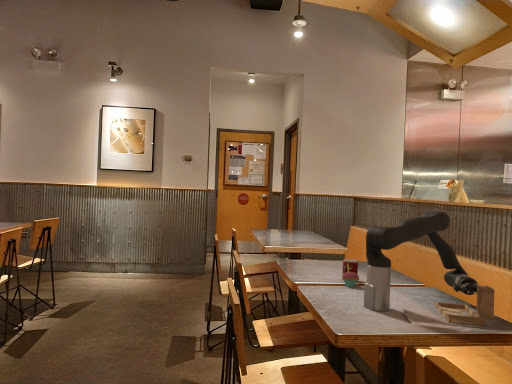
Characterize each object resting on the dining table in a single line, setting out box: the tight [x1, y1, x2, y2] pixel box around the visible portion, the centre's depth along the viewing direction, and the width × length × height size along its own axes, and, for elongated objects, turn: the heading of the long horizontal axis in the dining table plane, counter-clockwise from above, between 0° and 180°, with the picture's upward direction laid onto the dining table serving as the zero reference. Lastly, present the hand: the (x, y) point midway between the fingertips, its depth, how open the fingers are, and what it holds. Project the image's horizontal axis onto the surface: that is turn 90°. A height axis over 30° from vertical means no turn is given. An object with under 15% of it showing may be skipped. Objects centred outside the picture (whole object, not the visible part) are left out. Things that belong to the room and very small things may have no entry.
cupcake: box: [341, 263, 360, 288], centre depth 196 cm, size 9×8×12 cm
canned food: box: [342, 258, 359, 281], centre depth 210 cm, size 8×8×11 cm
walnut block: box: [475, 285, 495, 320], centre depth 148 cm, size 6×4×12 cm, turn 168°
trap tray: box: [434, 301, 487, 330], centre depth 148 cm, size 22×12×4 cm, turn 167°
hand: (478, 292), depth 156 cm, fingers open, 8 cm apart
